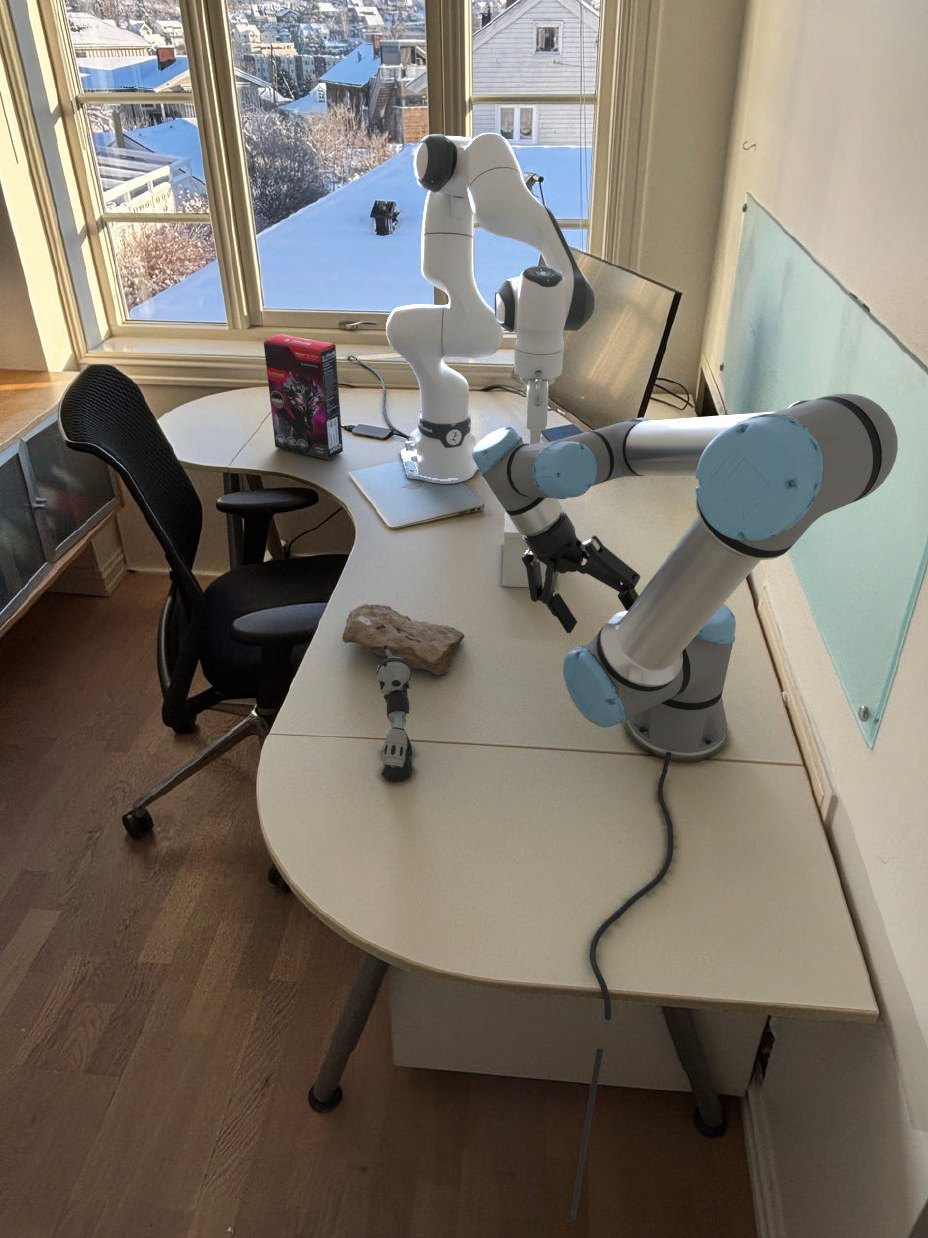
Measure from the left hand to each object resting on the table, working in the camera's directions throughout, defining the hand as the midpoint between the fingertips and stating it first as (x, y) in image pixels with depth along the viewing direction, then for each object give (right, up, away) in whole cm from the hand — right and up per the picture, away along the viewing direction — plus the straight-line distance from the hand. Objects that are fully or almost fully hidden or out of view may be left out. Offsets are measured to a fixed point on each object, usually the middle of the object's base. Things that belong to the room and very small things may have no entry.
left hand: (534, 434), depth 176 cm
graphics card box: (-52, +7, +55) cm, 76 cm away
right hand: (+9, -36, -27) cm, 46 cm away
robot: (-23, -57, -39) cm, 73 cm away
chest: (-1, -25, +9) cm, 26 cm away
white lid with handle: (0, -16, +3) cm, 16 cm away
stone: (-25, -41, -16) cm, 50 cm away
